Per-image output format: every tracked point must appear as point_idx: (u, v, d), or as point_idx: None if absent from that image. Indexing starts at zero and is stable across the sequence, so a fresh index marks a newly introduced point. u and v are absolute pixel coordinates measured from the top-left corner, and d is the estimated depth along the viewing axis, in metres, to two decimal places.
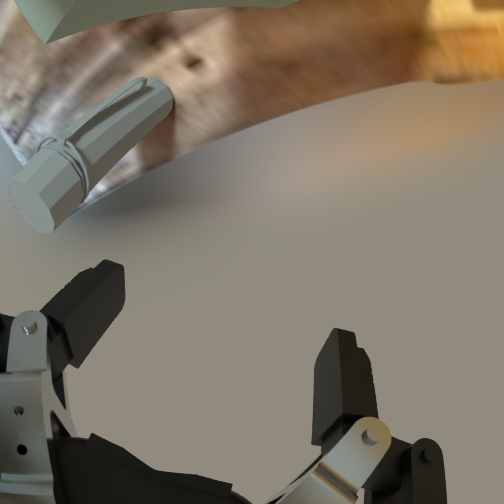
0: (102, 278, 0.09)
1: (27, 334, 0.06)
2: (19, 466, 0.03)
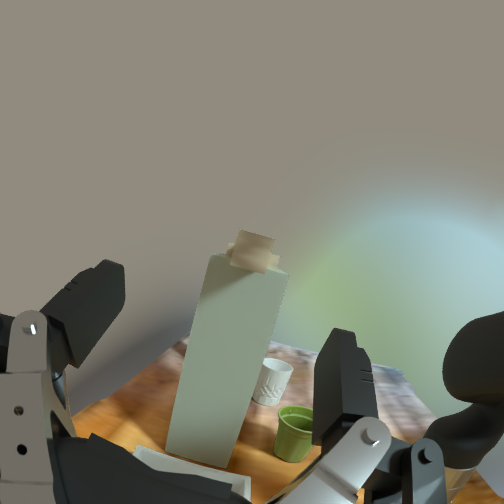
0: (102, 278, 0.09)
1: (27, 334, 0.06)
2: (19, 466, 0.03)
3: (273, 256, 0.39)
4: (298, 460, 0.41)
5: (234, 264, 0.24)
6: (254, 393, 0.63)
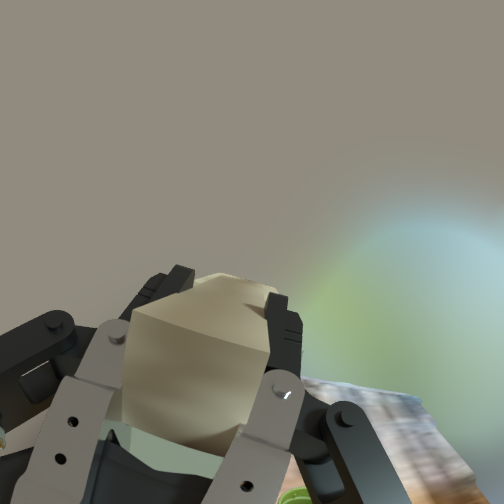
0: (181, 283, 0.10)
1: (118, 345, 0.07)
2: (50, 472, 0.03)
3: None
4: None
5: (131, 421, 0.06)
6: None
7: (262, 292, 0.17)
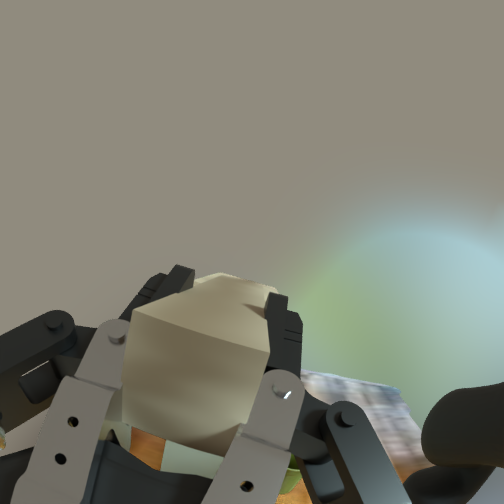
0: (181, 283, 0.10)
1: (118, 345, 0.07)
2: (50, 472, 0.03)
3: None
4: (285, 492, 0.39)
5: (131, 421, 0.06)
6: None
7: (262, 292, 0.17)
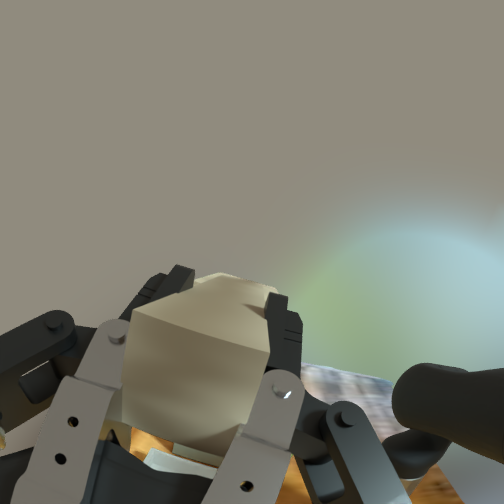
0: (181, 283, 0.10)
1: (118, 346, 0.07)
2: (50, 472, 0.03)
3: None
4: None
5: (131, 421, 0.06)
6: None
7: (262, 292, 0.17)
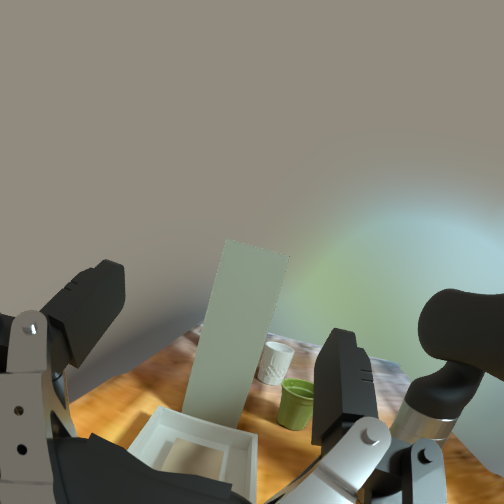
0: (102, 278, 0.09)
1: (27, 334, 0.06)
2: (19, 466, 0.03)
3: None
4: (299, 428, 0.49)
5: None
6: (259, 373, 0.72)
7: None
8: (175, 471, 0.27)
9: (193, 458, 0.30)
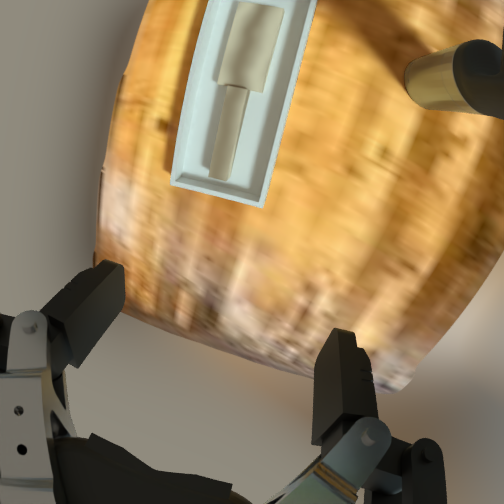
0: (102, 278, 0.09)
1: (27, 334, 0.06)
2: (19, 465, 0.03)
3: (255, 91, 0.39)
4: None
5: None
6: None
7: (240, 113, 0.40)
8: (238, 41, 0.35)
9: (254, 22, 0.33)
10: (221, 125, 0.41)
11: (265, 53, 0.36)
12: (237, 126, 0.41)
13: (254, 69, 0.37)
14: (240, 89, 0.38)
